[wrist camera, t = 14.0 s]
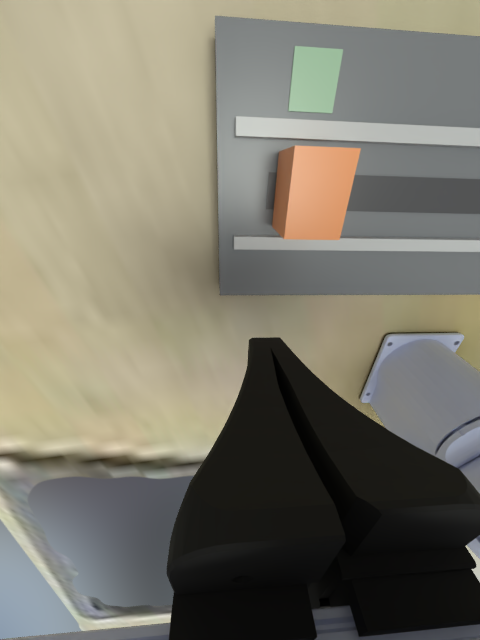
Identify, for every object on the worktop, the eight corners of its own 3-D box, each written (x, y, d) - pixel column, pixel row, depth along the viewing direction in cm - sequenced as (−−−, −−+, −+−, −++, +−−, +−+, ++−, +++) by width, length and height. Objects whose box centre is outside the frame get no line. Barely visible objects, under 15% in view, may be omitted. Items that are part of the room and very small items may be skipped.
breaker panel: (468, 284, 22) (496, 297, 19) (219, 284, 20) (219, 298, 18) (590, 64, 14) (658, 43, 12) (215, 36, 13) (214, 8, 11)
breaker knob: (317, 227, 16) (339, 240, 13) (272, 226, 16) (284, 239, 13) (330, 153, 14) (361, 148, 11) (279, 151, 14) (295, 145, 11)
